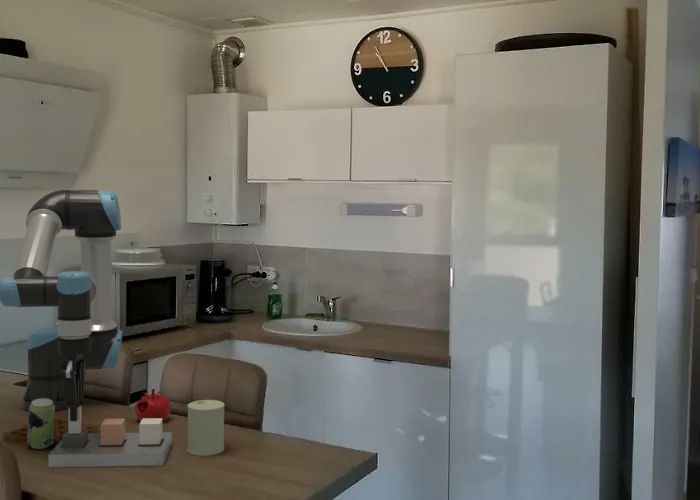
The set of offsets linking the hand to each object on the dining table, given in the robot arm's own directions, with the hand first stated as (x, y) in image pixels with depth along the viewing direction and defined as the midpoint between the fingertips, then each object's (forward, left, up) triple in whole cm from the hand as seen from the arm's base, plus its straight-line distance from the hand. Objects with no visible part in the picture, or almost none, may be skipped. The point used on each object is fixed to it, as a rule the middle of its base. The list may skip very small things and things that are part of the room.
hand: (75, 432), depth 185 cm
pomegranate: (-29, +14, -6) cm, 33 cm away
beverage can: (-7, -10, -6) cm, 14 cm away
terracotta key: (0, +9, -2) cm, 9 cm away
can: (-3, +31, -6) cm, 32 cm away
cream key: (0, +18, -2) cm, 18 cm away
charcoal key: (0, 0, -5) cm, 5 cm away
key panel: (0, +9, -6) cm, 11 cm away
